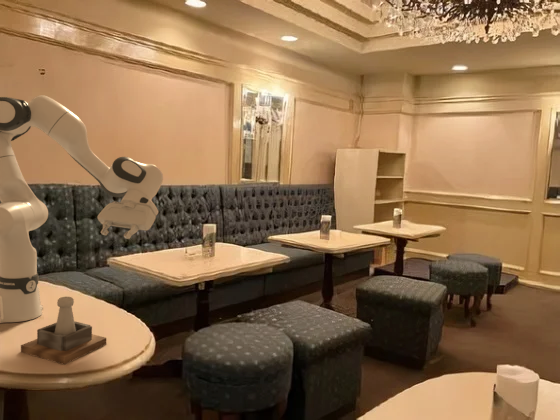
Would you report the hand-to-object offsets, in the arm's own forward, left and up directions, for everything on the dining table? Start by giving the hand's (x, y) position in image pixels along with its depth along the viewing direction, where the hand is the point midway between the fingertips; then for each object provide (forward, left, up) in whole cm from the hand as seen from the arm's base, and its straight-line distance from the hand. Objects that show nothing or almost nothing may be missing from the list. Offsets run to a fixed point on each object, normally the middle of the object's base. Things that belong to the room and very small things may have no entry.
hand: (114, 235), depth 161 cm
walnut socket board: (+3, -23, -29) cm, 38 cm away
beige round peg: (+3, -23, -28) cm, 36 cm away
